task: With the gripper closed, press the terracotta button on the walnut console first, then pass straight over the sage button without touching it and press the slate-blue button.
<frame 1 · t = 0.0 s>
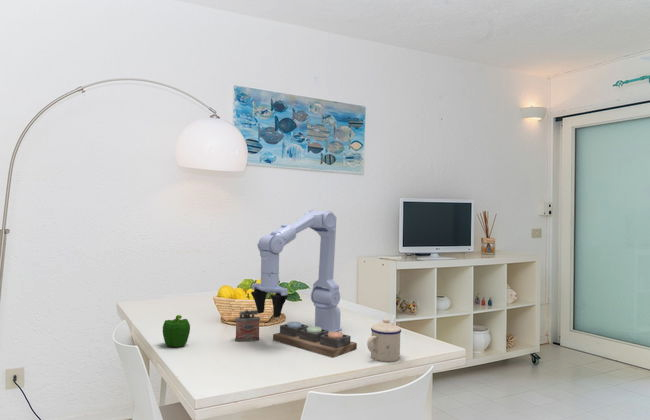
hand: (268, 314, 153), 10 cm above the table, fingers open, 7 cm apart
lighter: (247, 340, 159), on the table
button terracotta: (335, 336, 150), point 5 cm above the table, slide at 0.0 cm
console: (313, 344, 156), on the table
button sage: (314, 330, 156), point 5 cm above the table, slide at 0.0 cm
teacup with lid: (381, 359, 144), on the table
button slate: (294, 325, 162), point 5 cm above the table, slide at 0.0 cm
bell pepper: (175, 346, 151), on the table
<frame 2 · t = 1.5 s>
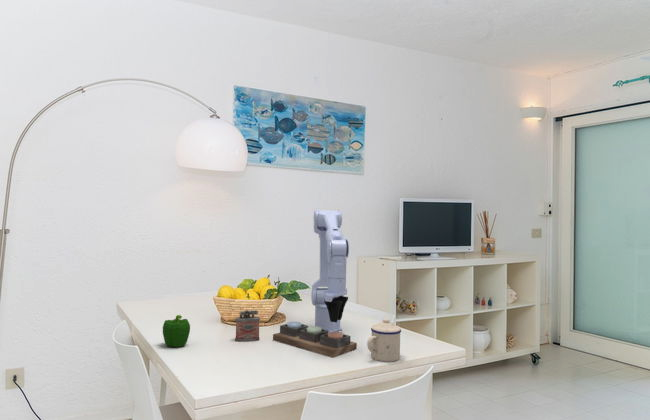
hand: (335, 320, 150), 9 cm above the table, fingers open, 3 cm apart
nothing on the table moved.
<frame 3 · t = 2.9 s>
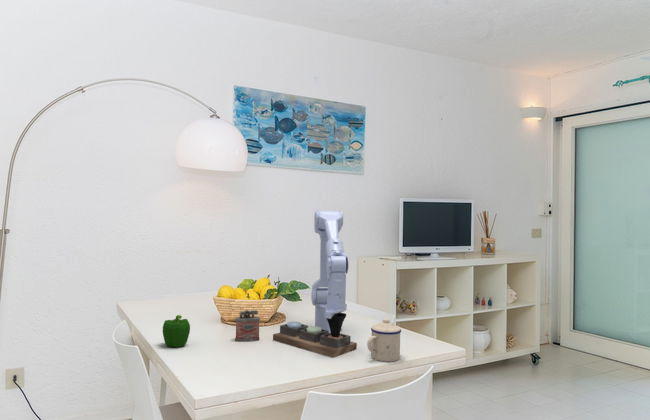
hand: (335, 336, 150), 4 cm above the table, fingers closed, pressing on button terracotta
button terracotta: (335, 339, 150), point 3 cm above the table, slide at 1.0 cm, touching gripper
everything else where it was.
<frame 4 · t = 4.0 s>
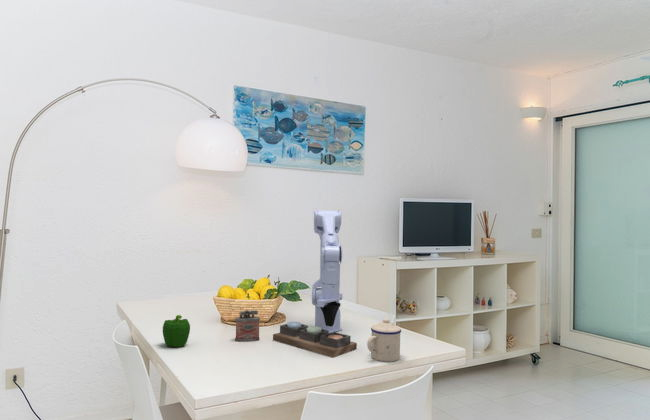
hand: (329, 325, 152), 7 cm above the table, fingers closed
button terracotta: (335, 339, 150), point 3 cm above the table, slide at 1.0 cm
everything else where it was.
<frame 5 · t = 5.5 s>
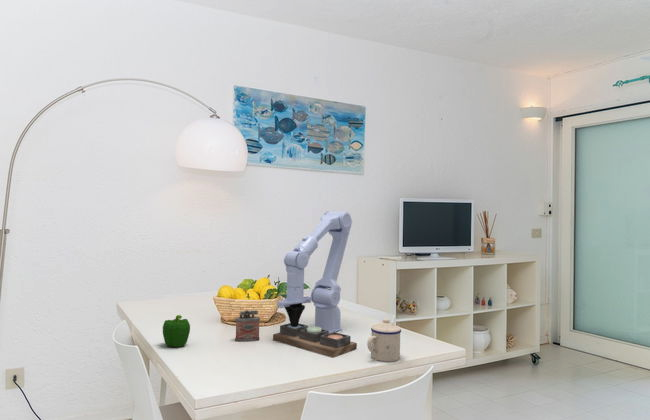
hand: (294, 326, 162), 4 cm above the table, fingers closed, pressing on button slate
button slate: (294, 328, 162), point 4 cm above the table, slide at 1.0 cm, touching gripper
everything else where it was.
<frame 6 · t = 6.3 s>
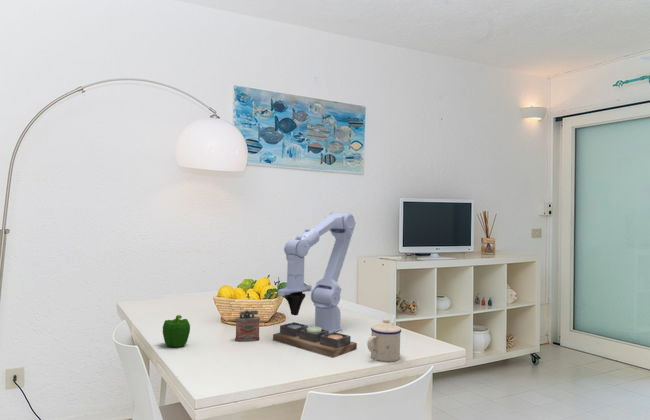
hand: (294, 314, 162), 8 cm above the table, fingers closed
button slate: (294, 328, 162), point 3 cm above the table, slide at 1.0 cm
everything else where it was.
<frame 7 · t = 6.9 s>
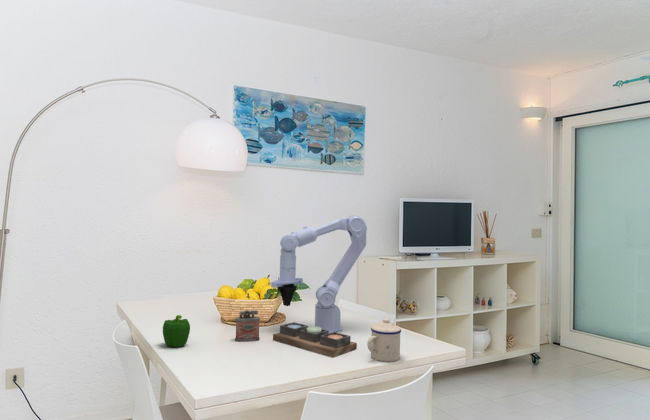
hand: (286, 305, 173), 9 cm above the table, fingers closed
nothing on the table moved.
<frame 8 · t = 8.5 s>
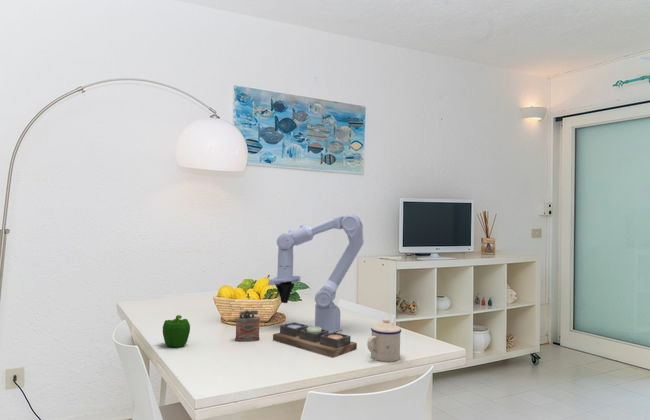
hand: (284, 302, 177), 9 cm above the table, fingers closed
nothing on the table moved.
at the end: button terracotta slide at 1.0 cm; button slate slide at 1.0 cm; button sage slide at 0.0 cm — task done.
